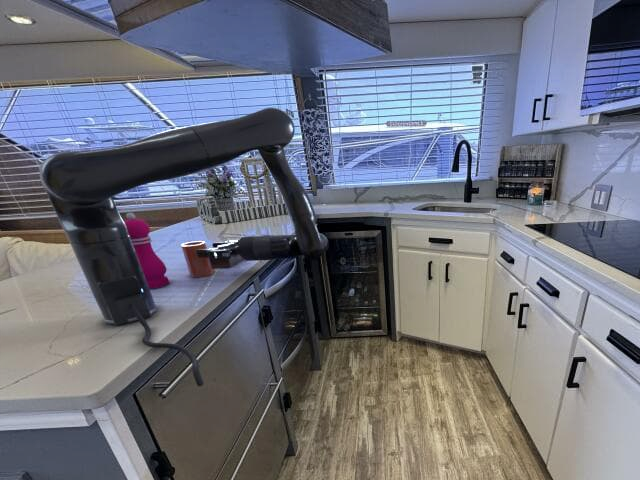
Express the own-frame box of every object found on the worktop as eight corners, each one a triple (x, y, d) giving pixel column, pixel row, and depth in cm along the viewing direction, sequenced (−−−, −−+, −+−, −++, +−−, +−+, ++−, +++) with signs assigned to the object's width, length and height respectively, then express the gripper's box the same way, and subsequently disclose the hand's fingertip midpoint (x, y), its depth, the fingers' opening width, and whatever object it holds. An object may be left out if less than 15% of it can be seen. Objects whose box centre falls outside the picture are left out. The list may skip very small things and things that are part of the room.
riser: (230, 267, 104) (228, 258, 103) (197, 268, 104) (194, 259, 103) (245, 258, 114) (243, 249, 113) (215, 259, 114) (212, 251, 113)
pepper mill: (134, 288, 89) (105, 214, 81) (160, 279, 95) (135, 210, 87) (151, 290, 86) (122, 215, 78) (176, 282, 92) (153, 210, 84)
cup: (216, 273, 98) (207, 243, 95) (193, 278, 95) (183, 247, 91) (210, 269, 103) (202, 240, 99) (188, 274, 99) (179, 244, 95)
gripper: (266, 230, 100) (214, 232, 101) (246, 240, 87) (187, 242, 88) (270, 253, 103) (221, 255, 104) (252, 267, 90) (195, 269, 90)
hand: (205, 249), depth 96 cm, fingers open, 8 cm apart
